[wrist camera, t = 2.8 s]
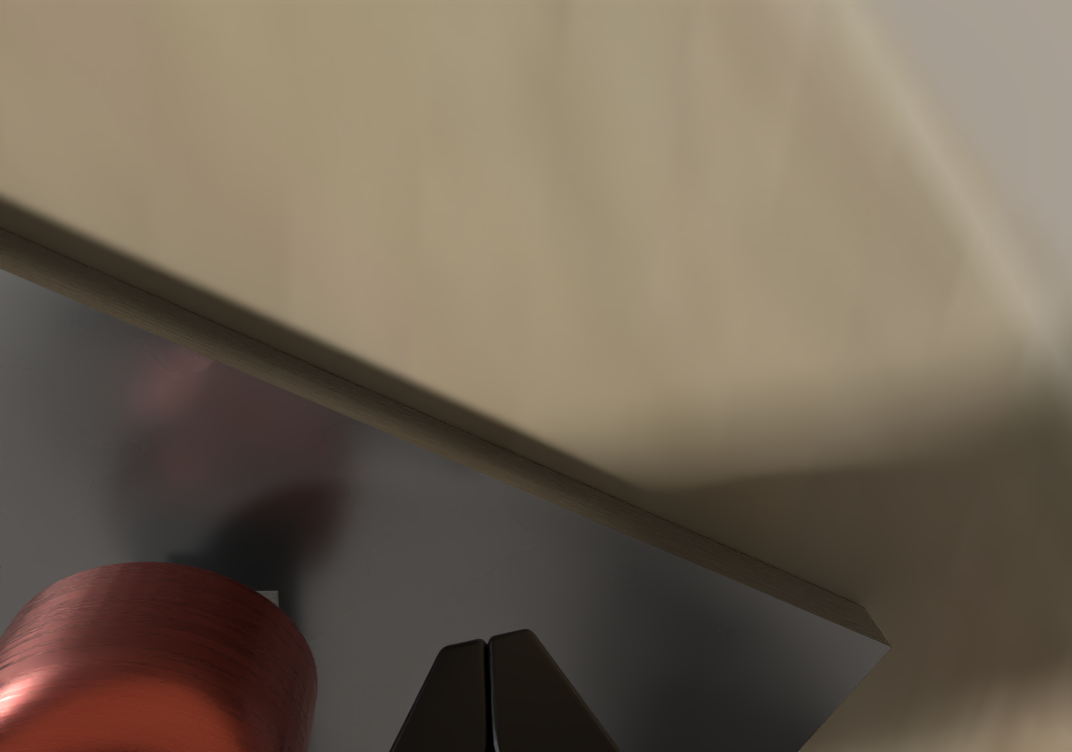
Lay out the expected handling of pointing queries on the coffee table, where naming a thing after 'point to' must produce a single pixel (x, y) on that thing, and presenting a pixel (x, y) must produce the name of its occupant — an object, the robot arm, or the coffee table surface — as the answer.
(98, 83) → the coffee table surface
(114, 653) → the crank
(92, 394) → the bedplate
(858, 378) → the coffee table surface
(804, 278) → the coffee table surface
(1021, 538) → the coffee table surface
